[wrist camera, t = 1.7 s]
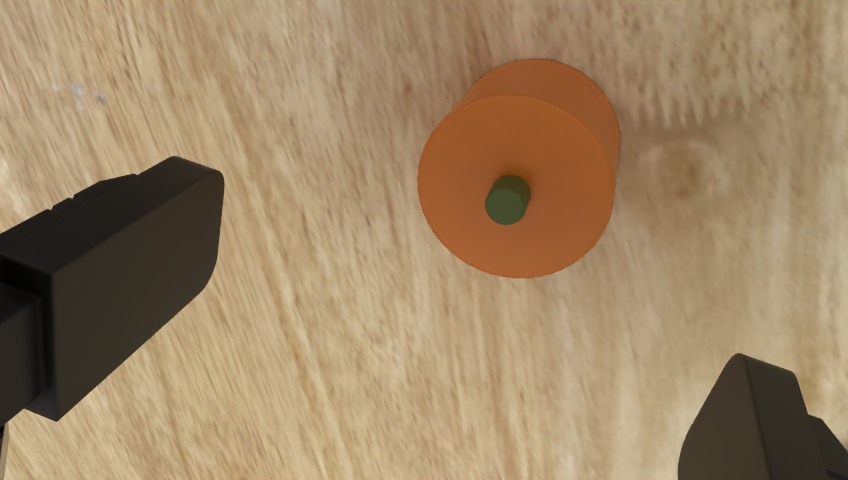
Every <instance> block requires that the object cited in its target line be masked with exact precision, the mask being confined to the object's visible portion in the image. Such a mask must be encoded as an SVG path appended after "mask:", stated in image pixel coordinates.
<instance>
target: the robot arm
mask: <svg viewBox="0 0 848 480" xmlns="http://www.w3.org/2000/svg"><path fill="white" fill-rule="evenodd" d="M223 197H224V178H223V175H222V173H221V172H220V171H218V170H215V169H212V168H209V167H206V166H204V165H201V164H198V163H195V162H192V161H189V160H186V159H183V158H180V157H177V156H172V157H169V158H167V159H166V160H164V161H162V162H160V163H158V164H157V165H155V166H153V167H151V168H149V169H148V170H146V171H144V172H142V173H140V174H139V175H136V174H130V175H126V176H121V177H117V178H112V179H108V180H103V181H99V182H97V183H96V184H94V185H92V186H90V187H88V188H86V189H84V190H82V191H80V192H79V193H77V194H75V195H74V197H73V199H72V198H67V199H65V200H63V201H62V202H60V203H58V204H56V205H54V206H53V208H52V210H49V209H46V210H45V211H43V212H41V213H39V214H37V215H35V216H33V217H31V218H29V219H28V220H26V221H24V222H22V223H20V224H18V225H16V226H14V227H12V228H11V229H9V230H7V231H5V232H3V233H1V234H0V480H4V473H5V465H6V457H7V449H8V442H9V425H8V421H9V420H10V419H12V418H13V417H14V416H15V415H16V414H18V413H19V412H20V411H21V410H22V409H27V410H29V411H32V412H34V413H36V414H39V415H41V416H44V417H46V418H48V419H51V420H53V421H56V422H57V421H58V420H60V419H61V418H62V417H63V416H64V415H65V414H66V413H67V412H68V411H70V410H71V409H72V408H73V407H74V406H75V405H76V404H77V403H78V402H79V401H81V400H82V399H83V398H84V397H85V396H86V395H87V394H88V393H89V392H91V391H92V390H93V389H94V388H95V387H96V386H97V385H98V384H99V383H101V382H102V381H103V380H104V379H105V378H106V377H107V376H108V375H109V374H111V373H112V372H113V371H114V370H115V369H116V368H117V367H118V366H119V365H121V364H122V363H123V362H124V361H125V360H126V359H127V358H128V357H129V356H131V355H132V354H133V353H134V352H135V351H136V350H137V349H138V348H139V347H141V346H142V345H143V344H144V343H145V342H146V341H147V340H148V339H149V338H151V337H152V336H153V335H154V334H155V333H156V332H157V331H158V330H159V329H161V328H162V327H163V326H164V325H165V324H166V323H167V322H168V321H169V320H171V319H172V318H173V317H174V316H175V315H176V314H177V313H178V312H179V311H181V310H182V309H183V308H184V307H185V306H186V305H187V304H188V303H189V302H191V301H192V300H193V299H194V298H195V297H196V296H197V295H198V294H199V293H200V292H201V291H202V290H203V289H204V288H205V286H206V285H207V283H208V281H209V280H210V278H211V275H212V273H213V271H214V268H215V265H216V261H217V255H218V245H219V236H220V226H221V216H222V207H223ZM678 480H848V453H847V450H846V449H845V448H844V447H843V445H842V444H841V443H840V442H839V440H838V439H837V438H836V436H835V435H834V434H833V433H832V431H831V430H830V429H829V428H828V426H827V425H826V424H825V423H824V421H823V420H822V419H820V418H817V417H814V416H811V415H808V413H807V410H806V406H805V403H804V400H803V397H802V394H801V391H800V387H799V384H798V381H797V378H796V376H795V374H794V373H793V372H792V371H789V370H786V369H784V368H781V367H778V366H775V365H772V364H769V363H766V362H763V361H761V360H758V359H755V358H752V357H749V356H746V355H743V354H740V353H737V354H735V355H734V356H732V357H731V359H730V360H729V361H728V362H727V364H726V365H725V367H724V369H723V371H722V372H721V374H720V376H719V378H718V379H717V381H716V383H715V385H714V387H713V388H712V390H711V392H710V394H709V395H708V397H707V399H706V401H705V402H704V404H703V406H702V408H701V410H700V411H699V413H698V415H697V417H696V418H695V420H694V422H693V424H692V425H691V427H690V429H689V431H688V433H687V435H686V437H685V440H684V443H683V446H682V449H681V453H680V458H679V463H678Z"/></svg>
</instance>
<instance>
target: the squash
mask: <svg viewBox="0 0 848 480" xmlns="http://www.w3.org/2000/svg"><path fill="white" fill-rule="evenodd" d="M619 150H620V131H619V126H618V121H617V118H616V115H615V112H614V110H613V108H612V106H611V104H610V102H609V100H608V99H607V97H606V96H605V94H604V93H603V92H602V90H601V89H600V88H599V87H598V86H597V85H596V84H595V83H594V82H593V81H592V80H590V79H589V78H588V77H587V76H586V75H584V74H582V73H581V72H579V71H577V70H576V69H574V68H572V67H569V66H567V65H565V64H561V63H558V62H555V61H549V60H543V59H527V60H519V61H515V62H511V63H507V64H505V65H502V66H500V67H497V68H495V69H494V70H492V71H490V72H488V73H487V74H486V75H484V76H483V77H482V78H480V79H479V80H478V81H477V82H476V83H475V84H474V85H473V86H472V87H471V88H470V89H469V90H468V92H467V93H466V94H465V95H464V96H463V97H462V98H461V99H460V101H459V102H458V103H457V104H456V105H455V106H454V107H453V109H452V110H451V111H450V112H449V113H448V114H447V115H446V117H445V118H444V119H443V120H442V121H441V122H440V123H439V125H438V126H437V127H436V128H435V130H434V131H433V132H432V134H431V135H430V137H429V139H428V141H427V142H426V144H425V147H424V149H423V152H422V154H421V158H420V162H419V167H418V177H417V181H418V194H419V199H420V203H421V207H422V210H423V213H424V215H425V217H426V220H427V222H428V224H429V226H430V227H431V229H432V230H433V232H434V234H435V235H436V236H437V238H438V239H439V240H440V241H441V243H442V244H443V245H444V246H445V247H446V248H447V249H448V250H449V251H450V252H452V253H453V254H454V255H455V256H457V257H458V258H459V259H461V260H462V261H464V262H466V263H467V264H469V265H471V266H473V267H475V268H477V269H479V270H481V271H484V272H487V273H490V274H493V275H498V276H502V277H510V278H532V277H540V276H544V275H548V274H552V273H554V272H557V271H559V270H562V269H564V268H566V267H568V266H570V265H572V264H573V263H575V262H576V261H578V260H579V259H580V258H582V257H583V256H584V255H585V254H586V253H587V252H588V251H590V250H591V249H592V248H593V246H594V245H595V244H596V243H597V241H598V240H599V239H600V237H601V235H602V234H603V232H604V230H605V228H606V226H607V224H608V221H609V219H610V216H611V212H612V208H613V203H614V194H615V185H616V177H617V168H618V159H619Z"/></svg>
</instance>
